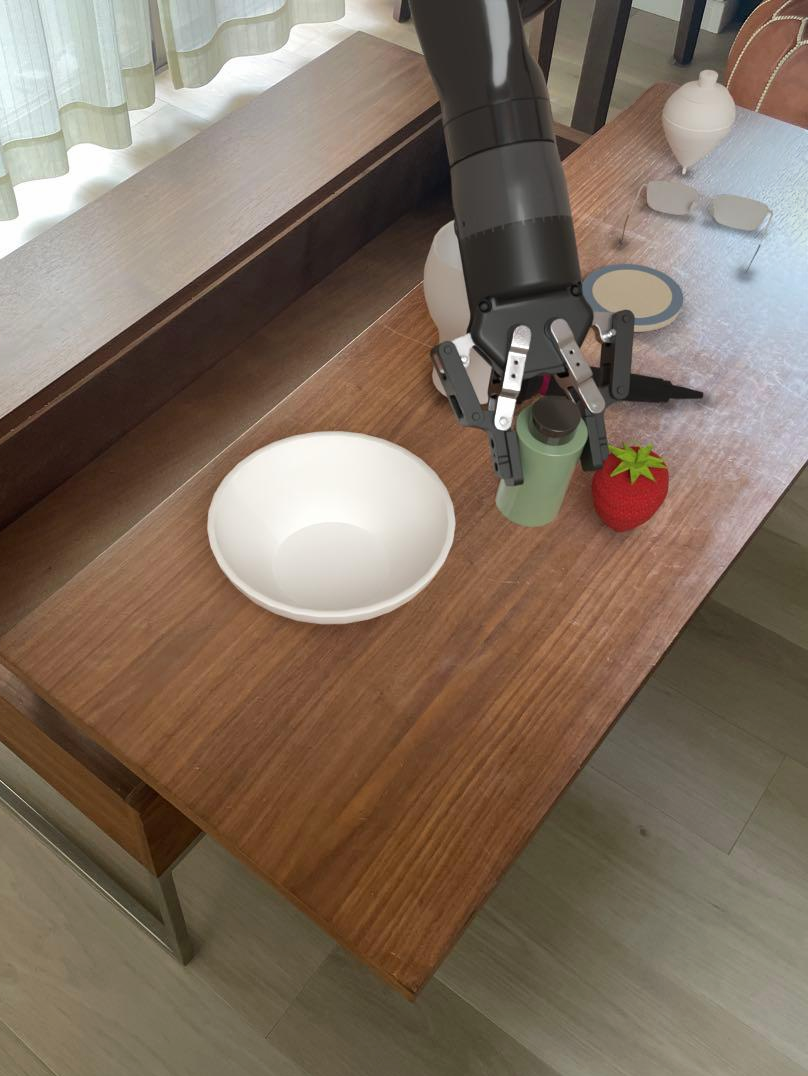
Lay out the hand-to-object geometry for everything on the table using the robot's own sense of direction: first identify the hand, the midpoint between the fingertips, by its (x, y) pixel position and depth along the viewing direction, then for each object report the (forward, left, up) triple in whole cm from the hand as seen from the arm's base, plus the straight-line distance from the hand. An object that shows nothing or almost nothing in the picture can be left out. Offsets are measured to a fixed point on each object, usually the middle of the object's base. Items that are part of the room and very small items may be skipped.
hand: (554, 476), depth 74 cm
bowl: (+16, -1, -17) cm, 23 cm away
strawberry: (-6, -12, -17) cm, 22 cm away
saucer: (-3, -43, -17) cm, 46 cm away
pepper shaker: (+2, -2, -5) cm, 6 cm away
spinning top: (-6, -69, -17) cm, 71 cm away
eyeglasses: (-8, -56, -17) cm, 59 cm away
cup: (+10, -27, -16) cm, 33 cm away
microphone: (-1, -27, -17) cm, 32 cm away
